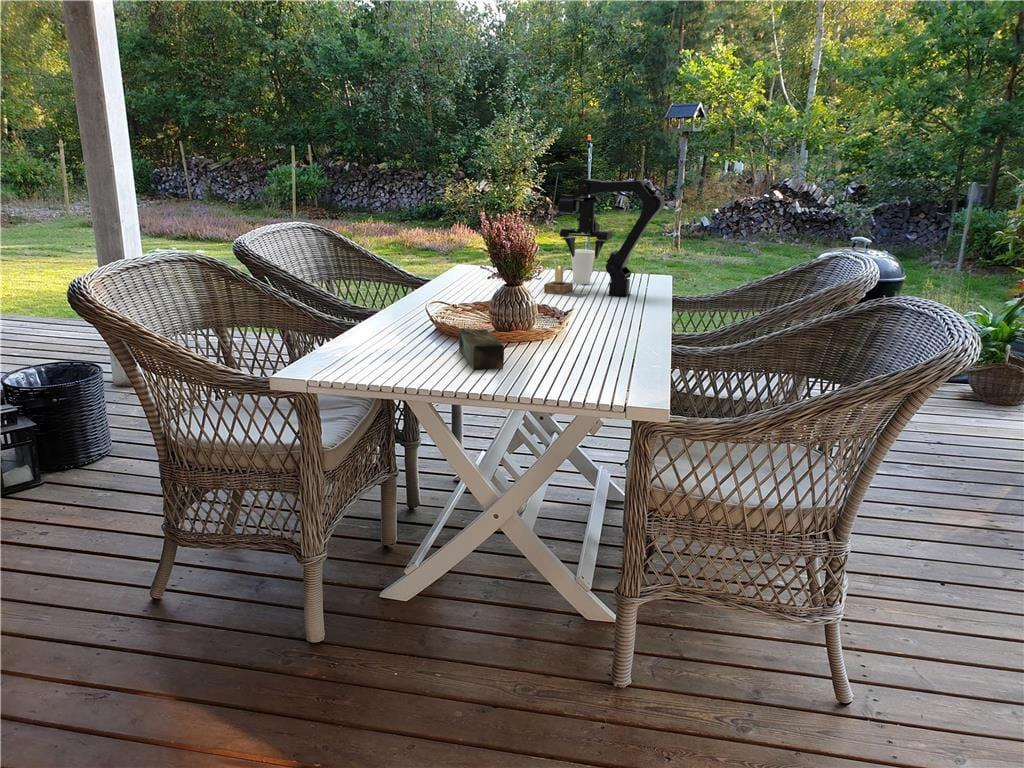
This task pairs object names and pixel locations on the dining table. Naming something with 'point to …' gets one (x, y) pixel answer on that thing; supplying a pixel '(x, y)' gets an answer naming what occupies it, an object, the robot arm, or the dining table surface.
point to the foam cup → (582, 266)
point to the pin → (558, 275)
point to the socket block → (558, 288)
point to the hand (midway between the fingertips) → (584, 257)
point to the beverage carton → (481, 349)
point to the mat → (576, 295)
